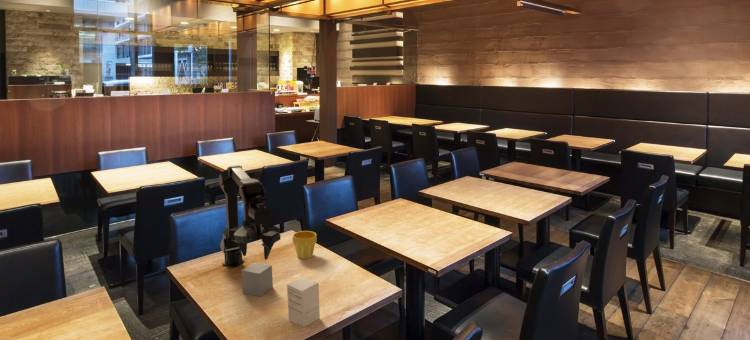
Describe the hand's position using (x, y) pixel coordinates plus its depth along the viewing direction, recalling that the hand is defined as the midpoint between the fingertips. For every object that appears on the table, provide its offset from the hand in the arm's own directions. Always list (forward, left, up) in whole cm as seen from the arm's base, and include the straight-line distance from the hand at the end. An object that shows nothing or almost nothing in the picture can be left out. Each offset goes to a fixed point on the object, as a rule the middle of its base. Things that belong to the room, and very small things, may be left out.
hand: (255, 257), depth 166 cm
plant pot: (0, +35, -13) cm, 37 cm away
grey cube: (0, +1, -13) cm, 13 cm away
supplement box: (+26, -11, -13) cm, 31 cm away
